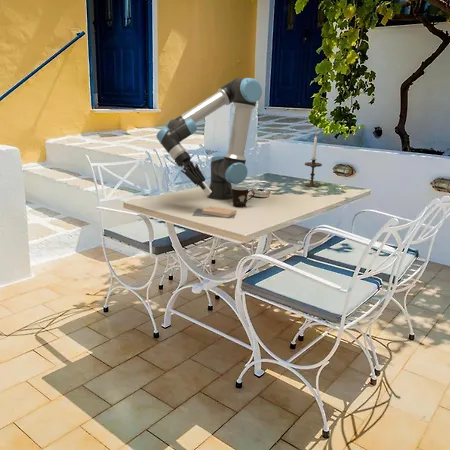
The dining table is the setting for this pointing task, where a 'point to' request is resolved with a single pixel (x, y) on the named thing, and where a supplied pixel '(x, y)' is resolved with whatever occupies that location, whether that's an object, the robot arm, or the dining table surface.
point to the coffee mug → (240, 196)
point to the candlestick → (313, 165)
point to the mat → (199, 213)
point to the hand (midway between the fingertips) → (209, 193)
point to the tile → (219, 212)
